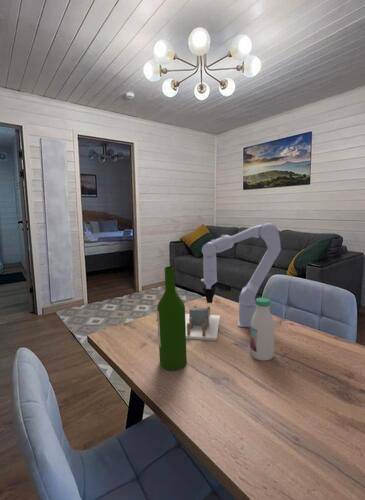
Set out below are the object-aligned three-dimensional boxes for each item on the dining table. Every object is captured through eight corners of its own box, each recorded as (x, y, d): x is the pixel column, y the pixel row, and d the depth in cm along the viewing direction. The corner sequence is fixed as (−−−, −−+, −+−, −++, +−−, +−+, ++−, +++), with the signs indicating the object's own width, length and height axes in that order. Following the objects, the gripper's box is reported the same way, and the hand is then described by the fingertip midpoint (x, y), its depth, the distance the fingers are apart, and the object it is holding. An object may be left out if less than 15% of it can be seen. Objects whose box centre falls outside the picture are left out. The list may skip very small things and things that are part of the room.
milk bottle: (274, 351, 95) (276, 297, 91) (272, 363, 88) (273, 305, 84) (252, 347, 98) (253, 294, 94) (248, 358, 91) (248, 302, 87)
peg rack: (220, 317, 123) (220, 306, 122) (216, 340, 103) (216, 327, 102) (185, 315, 127) (185, 304, 126) (175, 337, 106) (175, 324, 105)
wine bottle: (159, 356, 94) (154, 265, 88) (185, 354, 95) (182, 263, 89) (159, 372, 85) (154, 272, 79) (188, 369, 86) (185, 270, 80)
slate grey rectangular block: (209, 324, 115) (209, 308, 114) (208, 326, 113) (208, 310, 112) (190, 322, 117) (190, 307, 115) (189, 325, 114) (189, 309, 113)
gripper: (202, 265, 126) (203, 293, 128) (198, 273, 112) (199, 305, 114) (218, 265, 124) (218, 294, 127) (215, 274, 110) (216, 306, 113)
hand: (210, 299), depth 120 cm, fingers open, 7 cm apart
